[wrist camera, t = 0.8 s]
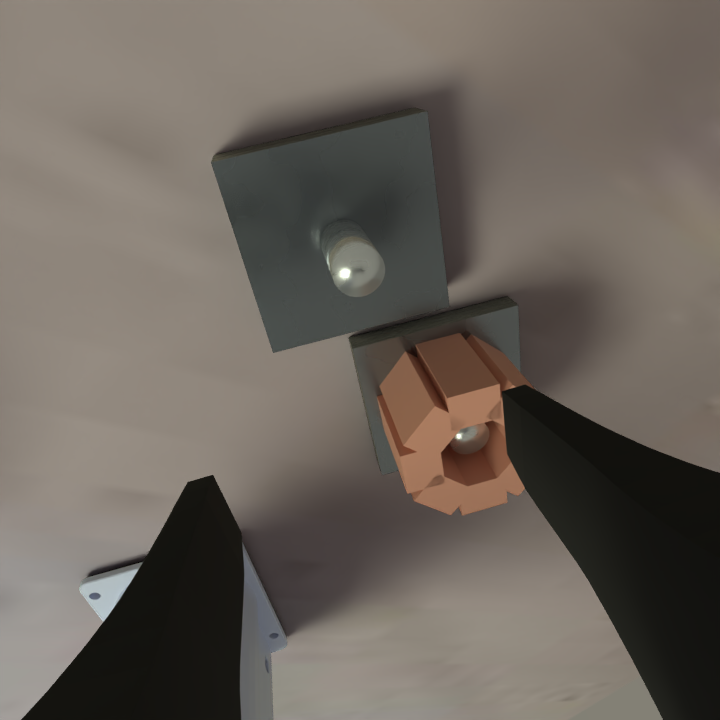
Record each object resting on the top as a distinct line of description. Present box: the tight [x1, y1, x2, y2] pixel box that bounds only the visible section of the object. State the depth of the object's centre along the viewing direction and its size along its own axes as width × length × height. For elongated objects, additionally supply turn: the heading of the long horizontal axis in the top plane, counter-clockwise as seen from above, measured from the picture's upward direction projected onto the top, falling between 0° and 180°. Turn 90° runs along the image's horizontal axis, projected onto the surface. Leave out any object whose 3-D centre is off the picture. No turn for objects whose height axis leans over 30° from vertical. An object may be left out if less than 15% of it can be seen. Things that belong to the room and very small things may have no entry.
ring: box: [377, 333, 534, 515], centre depth 21 cm, size 6×6×4 cm
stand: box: [349, 296, 521, 475], centre depth 22 cm, size 7×7×4 cm
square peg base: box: [211, 108, 450, 353], centre depth 18 cm, size 7×7×4 cm
